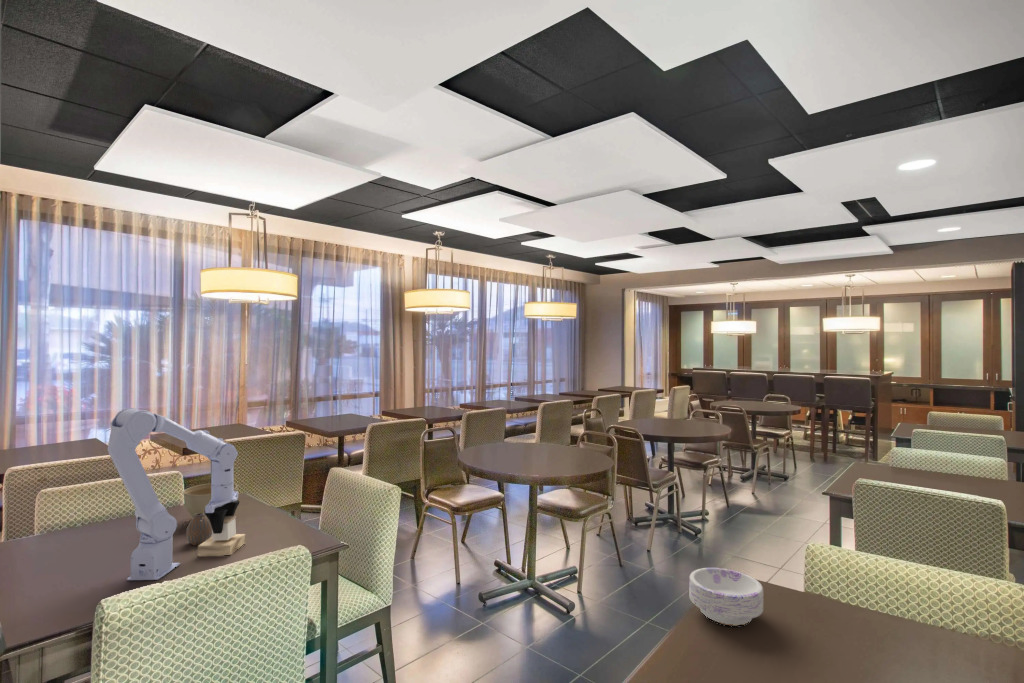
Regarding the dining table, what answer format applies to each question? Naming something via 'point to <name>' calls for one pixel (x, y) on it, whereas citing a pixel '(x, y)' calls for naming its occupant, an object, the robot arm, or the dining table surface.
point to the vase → (199, 529)
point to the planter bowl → (198, 498)
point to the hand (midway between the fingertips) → (222, 529)
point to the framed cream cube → (226, 529)
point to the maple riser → (221, 546)
